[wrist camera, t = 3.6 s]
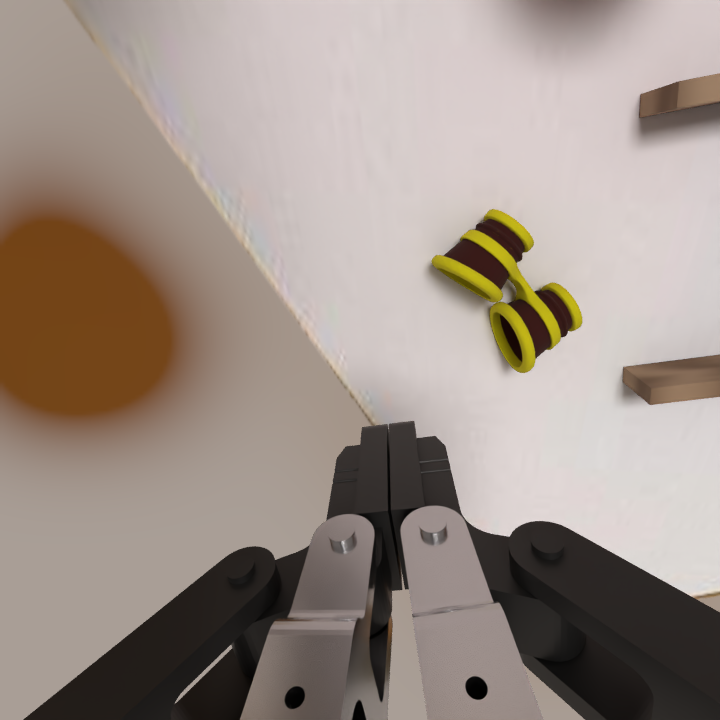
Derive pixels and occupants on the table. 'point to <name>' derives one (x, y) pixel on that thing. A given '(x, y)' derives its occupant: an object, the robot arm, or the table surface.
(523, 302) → the opera glasses
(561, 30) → the table surface
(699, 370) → the walnut bay
